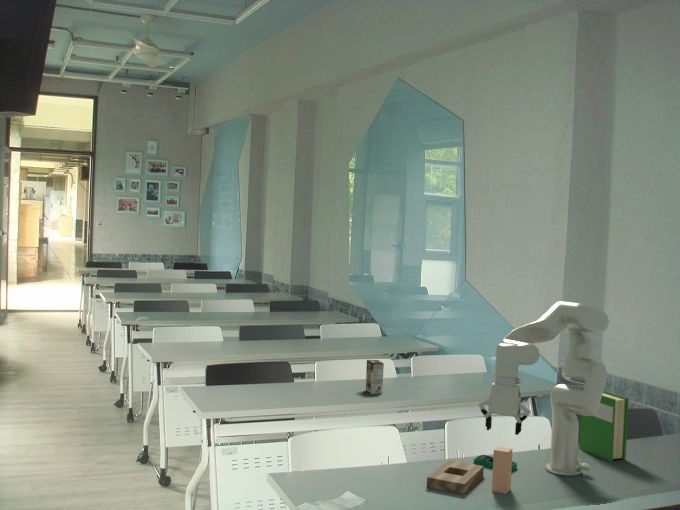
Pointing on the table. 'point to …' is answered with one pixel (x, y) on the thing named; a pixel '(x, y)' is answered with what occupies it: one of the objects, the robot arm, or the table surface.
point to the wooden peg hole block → (455, 477)
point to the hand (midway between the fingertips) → (502, 431)
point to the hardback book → (606, 428)
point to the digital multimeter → (489, 462)
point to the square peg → (502, 469)
